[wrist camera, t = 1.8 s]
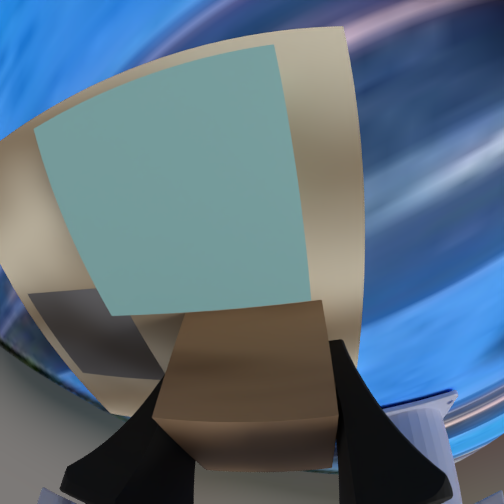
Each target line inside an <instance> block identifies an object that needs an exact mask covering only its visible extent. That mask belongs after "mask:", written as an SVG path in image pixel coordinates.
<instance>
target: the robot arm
mask: <svg viewBox="0 0 504 504" xmlns="http://www.w3.org/2000/svg"><path fill="white" fill-rule="evenodd" d="M329 347H330V354H331V360H332V367H333V375H334V382H335V390H336V398H337V406H338V414H339V416H338V425H337V434H336V443H337V451H338V469H339V497H340V498H339V501H340V504H462V499H461V493H460V488H459V483H458V478H457V473H456V468H455V464H454V460H453V455H452V451H451V448H450V444H449V440H448V436H447V433H446V429H445V426H444V422H443V418H444V416H445V415H446V413H447V412H448V410H449V409H450V408H451V406H452V405H453V403H454V401H455V400H456V398H457V397H458V393H457V391H456V390H453V391H450V392H447V393H443V394H440V395H437V396H433V397H430V398H426V399H423V400H419V401H415V402H411V403H407V404H403V405H399V406H394V407H390V408H385V409H382V408H381V407H380V405H379V404H378V403H377V401H376V400H375V398H374V397H373V395H372V394H371V392H370V391H369V389H368V388H367V386H366V384H365V383H364V381H363V379H362V378H361V376H360V374H359V372H358V371H357V369H356V367H355V365H354V363H353V361H352V359H351V357H350V355H349V353H348V351H347V348H346V346H345V343H344V341H343V340H342V339H338V340H331V341H329ZM164 376H165V374H164ZM164 376H163V377H162V379H161V380H160V381H159V383H158V384H157V386H156V387H155V388H154V390H153V391H152V392H151V394H150V395H149V396H148V398H147V399H146V400H145V401H144V403H143V404H142V405H141V406H140V408H139V409H138V410H137V411H136V412H135V413H134V415H133V416H132V417H131V418H130V419H129V420H128V421H127V422H126V423H125V424H124V425H123V426H122V427H121V428H120V429H119V430H118V431H117V432H116V433H115V434H114V435H112V436H111V437H110V438H109V439H108V440H107V441H106V442H104V443H103V444H102V445H100V446H99V447H98V448H96V449H95V450H94V451H92V452H91V453H89V454H88V455H86V456H85V457H84V458H82V459H80V460H78V461H77V462H75V463H73V464H71V465H69V466H68V467H67V469H66V471H65V475H64V477H63V480H62V483H61V487H60V490H61V491H62V492H64V493H66V494H68V495H69V496H72V497H74V498H76V499H78V500H80V501H82V502H84V503H86V504H193V503H194V502H193V501H194V498H193V497H194V496H193V495H194V471H195V460H194V459H193V458H192V457H191V456H190V455H189V454H188V453H187V452H186V451H185V450H184V449H183V448H182V447H180V446H179V445H178V444H177V443H176V442H175V441H174V440H173V439H172V438H171V437H170V436H169V435H168V434H167V433H166V432H165V431H164V430H163V429H162V428H161V427H160V425H159V424H158V423H157V422H156V421H155V420H154V419H153V418H152V415H153V412H154V409H155V405H156V402H157V399H158V395H159V392H160V389H161V386H162V383H163V379H164ZM37 504H76V503H74V502H72V501H70V500H67V499H65V498H63V497H61V496H59V495H57V494H55V493H53V492H52V491H49V490H48V489H46V488H42V491H41V494H40V497H39V500H38V503H37ZM474 504H504V497H503V492H502V491H501V490H500V491H498V492H496V493H495V494H493V495H491V496H489V497H487V498H485V499H483V500H481V501H479V502H476V503H474Z"/></svg>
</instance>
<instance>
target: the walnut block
mask: <svg viewBox="0 0 504 504" xmlns="http://www.w3.org/2000/svg"><path fill="white" fill-rule="evenodd" d="M338 416H339V414H338V406H337V398H336V390H335V382H334V375H333V367H332V360H331V354H330V347H329V340H328V334H327V328H326V322H325V316H324V310H323V304H322V300H316V301H307V302H299V303H290V304H281V305H272V306H262V307H252V308H241V309H230V310H218V311H205V312H190V313H185V315H184V318H183V321H182V324H181V327H180V330H179V333H178V336H177V339H176V342H175V345H174V348H173V351H172V354H171V357H170V361H169V364H168V367H167V370H166V373H165V376H164V379H163V383H162V386H161V389H160V392H159V395H158V399H157V402H156V405H155V409H154V412H153V415H152V418H153V419H154V420H155V421H156V422H157V423H158V424H159V425H160V427H161V428H162V429H163V430H164V431H165V432H166V433H167V434H168V435H169V436H170V437H171V438H172V439H173V440H174V441H175V442H176V443H177V444H178V445H179V446H180V447H182V448H183V449H184V450H185V451H186V452H187V453H188V454H189V455H190V456H191V457H192V458H193V459H194V460H196V461H197V462H198V463H199V464H200V465H201V466H202V467H203V468H205V469H206V470H215V471H232V472H234V471H235V472H285V471H302V470H314V469H324V468H332V463H333V456H334V449H335V442H336V434H337V425H338Z"/></svg>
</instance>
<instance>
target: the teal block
mask: <svg viewBox="0 0 504 504" xmlns="http://www.w3.org/2000/svg"><path fill="white" fill-rule="evenodd" d="M34 133H35V136H36V140H37V143H38V147H39V150H40V154H41V157H42V160H43V163H44V166H45V170H46V173H47V176H48V178H49V181H50V184H51V187H52V190H53V193H54V195H55V198H56V201H57V203H58V206H59V208H60V211H61V213H62V216H63V218H64V221H65V223H66V225H67V228H68V230H69V233H70V235H71V237H72V239H73V242H74V244H75V246H76V248H77V250H78V252H79V255H80V257H81V259H82V261H83V263H84V265H85V267H86V269H87V271H88V273H89V275H90V277H91V279H92V281H93V283H94V285H95V287H96V289H97V290H98V292H99V294H100V296H101V298H102V300H103V301H104V303H105V305H106V307H107V309H108V310H109V312H110V314H111V316H123V315H148V314H168V313H184V312H199V311H213V310H225V309H237V308H248V307H258V306H268V305H278V304H287V303H296V302H304V301H311V292H310V281H309V270H308V260H307V251H306V242H305V233H304V224H303V216H302V208H301V200H300V193H299V186H298V178H297V171H296V165H295V158H294V151H293V145H292V139H291V132H290V126H289V120H288V115H287V109H286V103H285V98H284V92H283V87H282V82H281V76H280V71H279V66H278V61H277V56H276V52H275V47H274V44H272V45H266V46H259V47H253V48H248V49H242V50H237V51H232V52H227V53H223V54H218V55H214V56H210V57H206V58H202V59H198V60H194V61H191V62H187V63H184V64H180V65H177V66H173V67H170V68H167V69H164V70H161V71H158V72H155V73H152V74H149V75H146V76H143V77H141V78H138V79H135V80H133V81H130V82H128V83H125V84H123V85H120V86H118V87H115V88H113V89H110V90H108V91H106V92H103V93H101V94H99V95H97V96H95V97H92V98H90V99H88V100H86V101H84V102H82V103H80V104H78V105H76V106H74V107H72V108H70V109H68V110H66V111H64V112H62V113H60V114H59V115H57V116H55V117H53V118H51V119H50V120H48V121H46V122H44V123H43V124H41V125H39V126H38V127H36V128H34Z"/></svg>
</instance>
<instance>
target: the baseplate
mask: <svg viewBox="0 0 504 504" xmlns="http://www.w3.org/2000/svg"><path fill="white" fill-rule="evenodd" d="M272 44H274V47H275V52H276V56H277V61H278V66H279V71H280V76H281V82H282V87H283V92H284V98H285V103H286V109H287V115H288V120H289V126H290V132H291V139H292V145H293V151H294V158H295V165H296V171H297V178H298V186H299V193H300V200H301V208H302V216H303V224H304V233H305V242H306V251H307V260H308V270H309V281H310V292H311V301H316V300H322V304H323V310H324V316H325V322H326V328H327V334H328V340H329V341H331V340H338V339H342V340H343V341H344V343H345V346H346V348H347V351H348V353H349V355H350V357H351V359H352V361H353V363H354V365H355V367H356V369H357V361H358V352H359V343H360V332H361V320H362V306H363V289H364V261H365V211H364V183H363V166H362V152H361V140H360V130H359V121H358V112H357V104H356V96H355V89H354V83H353V76H352V70H351V64H350V58H349V53H348V48H347V43H346V38H345V33H344V28H343V26H340V27H316V28H303V29H292V30H283V31H275V32H268V33H261V34H255V35H249V36H244V37H239V38H234V39H229V40H224V41H220V42H215V43H211V44H207V45H203V46H199V47H196V48H192V49H189V50H185V51H182V52H178V53H175V54H172V55H169V56H166V57H163V58H160V59H157V60H154V61H151V62H148V63H145V64H143V65H140V66H137V67H135V68H132V69H130V70H127V71H125V72H122V73H120V74H117V75H115V76H113V77H110V78H108V79H106V80H104V81H102V82H99V83H97V84H95V85H93V86H91V87H89V88H87V89H85V90H83V91H81V92H79V93H77V94H75V95H73V96H71V97H69V98H67V99H65V100H64V101H62V102H60V103H58V104H56V105H55V106H53V107H51V108H50V109H48V110H46V111H45V112H43V113H41V114H40V115H38V116H36V117H35V118H33V119H32V120H30V121H28V122H27V123H25V124H24V125H22V126H21V127H19V128H18V129H16V130H15V131H14V132H12V133H11V134H9V135H8V136H7V137H5V138H4V139H2V140H1V141H0V264H1V266H2V268H3V270H4V271H5V273H6V275H7V277H8V279H9V281H10V282H11V284H12V286H13V288H14V289H15V291H16V293H17V294H18V296H19V298H20V299H21V301H22V303H23V304H24V306H25V307H26V309H27V310H28V312H29V314H30V315H31V317H32V318H33V320H34V321H35V323H36V324H37V326H38V327H39V328H40V330H41V331H42V333H43V334H44V336H45V337H46V338H47V340H48V341H49V342H50V344H51V345H52V346H53V348H54V349H55V350H56V352H57V353H58V354H59V356H60V357H61V358H62V359H63V361H64V362H65V363H66V364H67V366H68V367H69V368H70V369H71V370H72V372H73V373H74V374H75V375H76V376H77V377H78V379H79V380H80V381H81V382H82V383H83V384H84V385H85V387H86V388H87V389H88V390H89V391H90V392H91V393H92V394H93V395H94V396H95V397H96V399H97V400H98V401H99V402H100V403H101V404H102V405H103V406H104V407H105V408H106V409H107V410H108V411H109V412H110V413H112V414H118V415H123V416H130V417H132V416H133V415H134V413H135V412H136V411H137V410H138V409H139V408H140V406H141V405H142V404H143V403H144V401H145V400H146V399H147V398H148V396H149V395H150V394H151V392H152V391H153V390H154V388H155V387H156V386H157V384H158V383H159V381H160V380H161V379H162V377H163V376H164V374H165V373H166V370H167V367H168V364H169V361H170V357H171V354H172V351H173V348H174V345H175V342H176V339H177V336H178V333H179V330H180V327H181V324H182V321H183V318H184V315H185V313H190V312H184V313H168V314H148V315H123V316H111V314H110V312H109V310H108V309H107V307H106V305H105V303H104V301H103V300H102V298H101V296H100V294H99V292H98V290H97V289H96V287H95V285H94V283H93V281H92V279H91V277H90V275H89V273H88V271H87V269H86V267H85V265H84V263H83V261H82V259H81V257H80V255H79V252H78V250H77V248H76V246H75V244H74V242H73V239H72V237H71V235H70V233H69V230H68V228H67V225H66V223H65V221H64V218H63V216H62V213H61V211H60V208H59V206H58V203H57V201H56V198H55V195H54V193H53V190H52V187H51V184H50V181H49V178H48V176H47V173H46V170H45V166H44V163H43V160H42V157H41V154H40V150H39V147H38V143H37V140H36V136H35V133H34V128H36V127H38V126H39V125H41V124H43V123H44V122H46V121H48V120H50V119H51V118H53V117H55V116H57V115H59V114H60V113H62V112H64V111H66V110H68V109H70V108H72V107H74V106H76V105H78V104H80V103H82V102H84V101H86V100H88V99H90V98H92V97H95V96H97V95H99V94H101V93H103V92H106V91H108V90H110V89H113V88H115V87H118V86H120V85H123V84H125V83H128V82H130V81H133V80H135V79H138V78H141V77H143V76H146V75H149V74H152V73H155V72H158V71H161V70H164V69H167V68H170V67H173V66H177V65H180V64H184V63H187V62H191V61H194V60H198V59H202V58H206V57H210V56H214V55H218V54H223V53H227V52H232V51H237V50H242V49H248V48H253V47H259V46H266V45H272ZM304 302H307V301H304ZM296 303H299V302H296ZM287 304H290V303H287ZM278 305H281V304H278ZM268 306H272V305H268ZM258 307H262V306H258ZM248 308H252V307H248ZM237 309H241V308H237ZM225 310H230V309H225ZM213 311H218V310H213ZM199 312H205V311H199Z"/></svg>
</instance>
